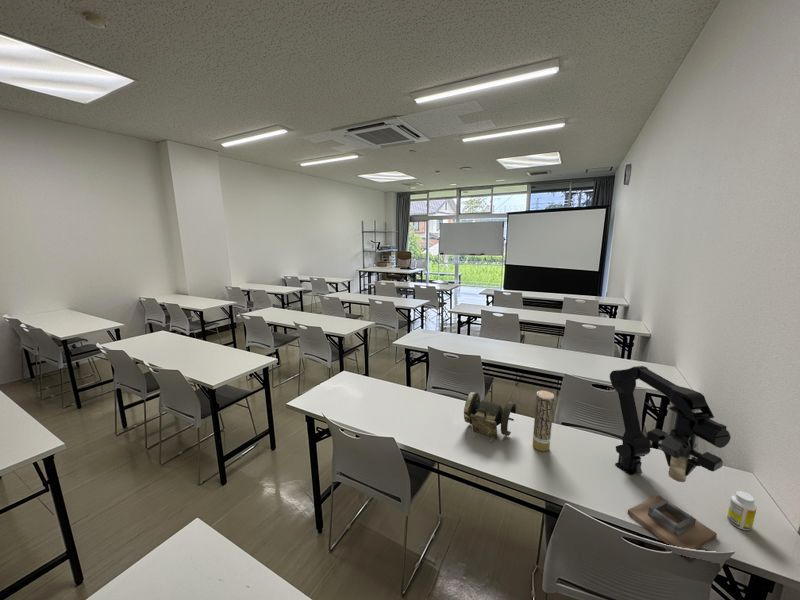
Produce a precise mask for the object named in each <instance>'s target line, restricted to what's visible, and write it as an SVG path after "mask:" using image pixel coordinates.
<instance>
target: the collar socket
mask: <svg viewBox="0 0 800 600" xmlns="http://www.w3.org/2000/svg"><path fill="white" fill-rule="evenodd" d="M627 514H628V515H629V516H630V517H631V518H632V519H634V520H635V521H637V522H638V523H639V524H641V525H642V526H643V527H644V528H645V529H647V530H648V531H649V532H651V533H652V534H654V535H655V536H656V537H657V538H658V539H660V540H661V541H663V542H664V543H666V544H667V545H668V544H669V545H673V546H677V547H682V548H690V549H697V550H699V549H700V548H702V547H704V546H705V545H706V544H708V543H710V542H712V541H713V540H714V539H716V538H717V536H718V533H716V532H715V531H714V530H712V529H711V528H709V527H708V526H706V525H705V524H703V523H702V522H700V521H699V520H697V519H696V518H695V517H694V516H693V515H690V514H689V513H688V512H685V511H684V510H682V509H681V507H680V508H679V507H678V506H677V505H675V504H674V503H672V502H671V501H669V500H668V499H666V498H664V497H662V496H660V495H658V494H657V495H656V496H653V497H651V498H650V499H647V500H645V501H643V502H642V503H639V504H637V505H635V506H633V507H631V508H629V509H627ZM669 545H668V546H669Z"/></svg>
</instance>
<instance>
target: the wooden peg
mask: <svg viewBox="0 0 800 600" xmlns="http://www.w3.org/2000/svg"><path fill="white" fill-rule="evenodd" d="M688 459H691V455H690V456H689V457H688V458H685V457H683V456H682V457H681V456H680V457H679V458H674V457H672V456H671V461H670V467H669V466H668V467H669V469H668V477H669V478H671V479H672V480H674V481H675V482H680V483H685V482H686V481H687V477H688V476H686V475H685V472H686V468H687V465H688V462H687V460H688Z"/></svg>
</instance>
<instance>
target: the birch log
mask: <svg viewBox="0 0 800 600" xmlns="http://www.w3.org/2000/svg"><path fill="white" fill-rule="evenodd" d="M554 405H555V394H554V393H553V392H550V391H549V390H538V391H537V392H536V399H535V407H534V408H535V411H534V422H533V423H534V424H533V434H532V446H533V448H534V449H536V450H538V451H539V452H547V451H549V449H550V443H551V436H552V425H553V416H554V415H553V414H554Z"/></svg>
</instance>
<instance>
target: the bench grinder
mask: <svg viewBox="0 0 800 600" xmlns="http://www.w3.org/2000/svg"><path fill="white" fill-rule="evenodd" d="M516 412H517V406H516V403H513V402H511V401H507V402H506V403H505V405H504V408H503V407H502V406H501V405H500V404H498V403H494V402H491V401H488V400H481V396H480V394H479V393H478V392H474V391H471V392H470V393H469V394H467V398H466V400H465V405H464V407H463V419H464V422H466V423H468V424H470V425H471V430H472V433H473V437H475V436H476V435H475V434H479V435H481V436H484V437H487V438H491V439H490V440H489V443H491V441H493V440H498V439H499V437H498V427H497V426H499V425H500V434H501V435H503V436H507V437H509V436H510V435H511V433H512V432H511V431H509V430H508V427H509V426H508V425H509V421H512V422H514V420H515V419H514V418H512V417H510V415H511V413H512V414H516Z"/></svg>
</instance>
